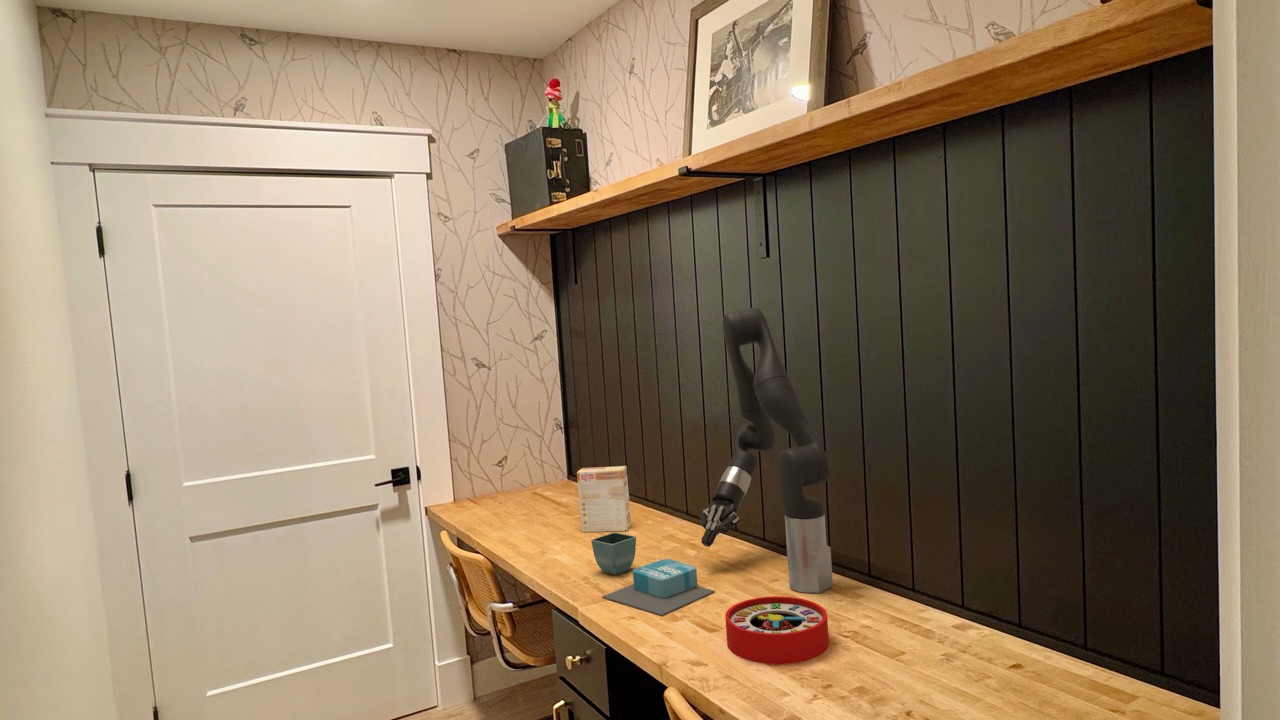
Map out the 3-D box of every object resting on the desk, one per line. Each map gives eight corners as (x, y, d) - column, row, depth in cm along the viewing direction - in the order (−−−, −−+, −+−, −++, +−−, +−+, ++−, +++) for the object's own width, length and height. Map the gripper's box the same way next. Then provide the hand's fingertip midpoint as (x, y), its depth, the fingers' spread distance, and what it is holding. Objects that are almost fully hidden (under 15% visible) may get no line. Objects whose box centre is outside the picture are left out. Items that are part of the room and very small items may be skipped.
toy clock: (727, 596, 168) (823, 595, 165) (729, 623, 168) (825, 623, 165) (721, 635, 148) (830, 634, 145) (724, 665, 149) (832, 665, 145)
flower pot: (617, 564, 214) (614, 531, 214) (639, 569, 208) (637, 536, 208) (592, 573, 208) (590, 539, 208) (615, 579, 202) (612, 544, 201)
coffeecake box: (631, 525, 253) (627, 465, 252) (627, 531, 246) (622, 469, 245) (586, 526, 256) (581, 467, 255) (581, 532, 249) (576, 471, 248)
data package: (699, 567, 191) (661, 580, 183) (700, 585, 191) (663, 599, 184) (666, 557, 200) (629, 570, 193) (667, 575, 200) (631, 588, 193)
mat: (714, 592, 187) (714, 590, 187) (662, 616, 174) (662, 614, 174) (655, 576, 201) (654, 575, 201) (602, 598, 189) (602, 596, 189)
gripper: (706, 477, 212) (678, 533, 204) (745, 482, 202) (717, 541, 194) (720, 493, 216) (693, 548, 208) (759, 498, 206) (733, 556, 198)
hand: (705, 544), depth 201 cm, fingers closed
